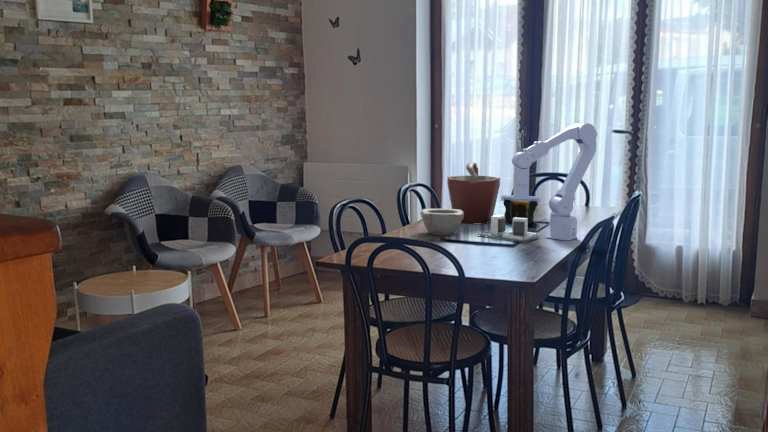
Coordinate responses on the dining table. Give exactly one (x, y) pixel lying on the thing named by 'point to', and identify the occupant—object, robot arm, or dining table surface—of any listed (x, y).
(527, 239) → the grey hollow box
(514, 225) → the white matte cuboid
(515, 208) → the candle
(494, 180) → the bucket
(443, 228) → the mortar
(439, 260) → the dining table surface
